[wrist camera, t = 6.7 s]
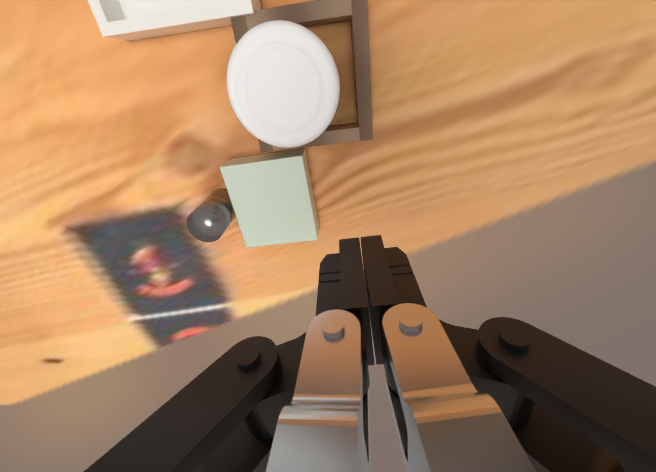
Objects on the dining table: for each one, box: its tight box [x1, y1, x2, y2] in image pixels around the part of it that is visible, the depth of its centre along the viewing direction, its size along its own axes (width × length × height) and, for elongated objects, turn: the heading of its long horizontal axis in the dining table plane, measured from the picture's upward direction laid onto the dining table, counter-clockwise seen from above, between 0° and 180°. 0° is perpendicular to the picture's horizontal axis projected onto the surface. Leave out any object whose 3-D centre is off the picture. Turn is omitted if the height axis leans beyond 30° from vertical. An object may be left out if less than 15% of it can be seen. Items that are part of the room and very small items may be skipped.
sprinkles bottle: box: [227, 20, 340, 148], centre depth 17 cm, size 5×5×13 cm
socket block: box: [230, 0, 373, 152], centre depth 22 cm, size 9×9×2 cm
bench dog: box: [187, 189, 236, 242], centre depth 26 cm, size 3×3×5 cm
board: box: [220, 148, 319, 248], centre depth 27 cm, size 7×8×3 cm
